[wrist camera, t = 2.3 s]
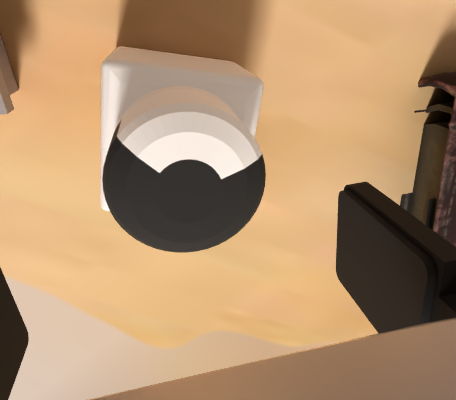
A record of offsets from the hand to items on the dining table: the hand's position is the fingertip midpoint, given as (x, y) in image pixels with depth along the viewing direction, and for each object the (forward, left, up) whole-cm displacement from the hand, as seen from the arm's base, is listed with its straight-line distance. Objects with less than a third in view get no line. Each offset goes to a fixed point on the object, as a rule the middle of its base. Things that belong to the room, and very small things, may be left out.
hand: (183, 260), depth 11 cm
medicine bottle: (0, 0, -16) cm, 16 cm away
